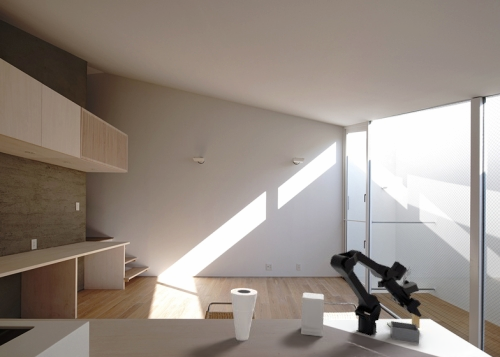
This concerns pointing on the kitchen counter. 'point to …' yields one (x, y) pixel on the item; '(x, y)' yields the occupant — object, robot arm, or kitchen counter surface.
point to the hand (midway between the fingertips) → (418, 314)
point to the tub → (404, 332)
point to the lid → (414, 321)
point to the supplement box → (312, 314)
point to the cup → (243, 310)
